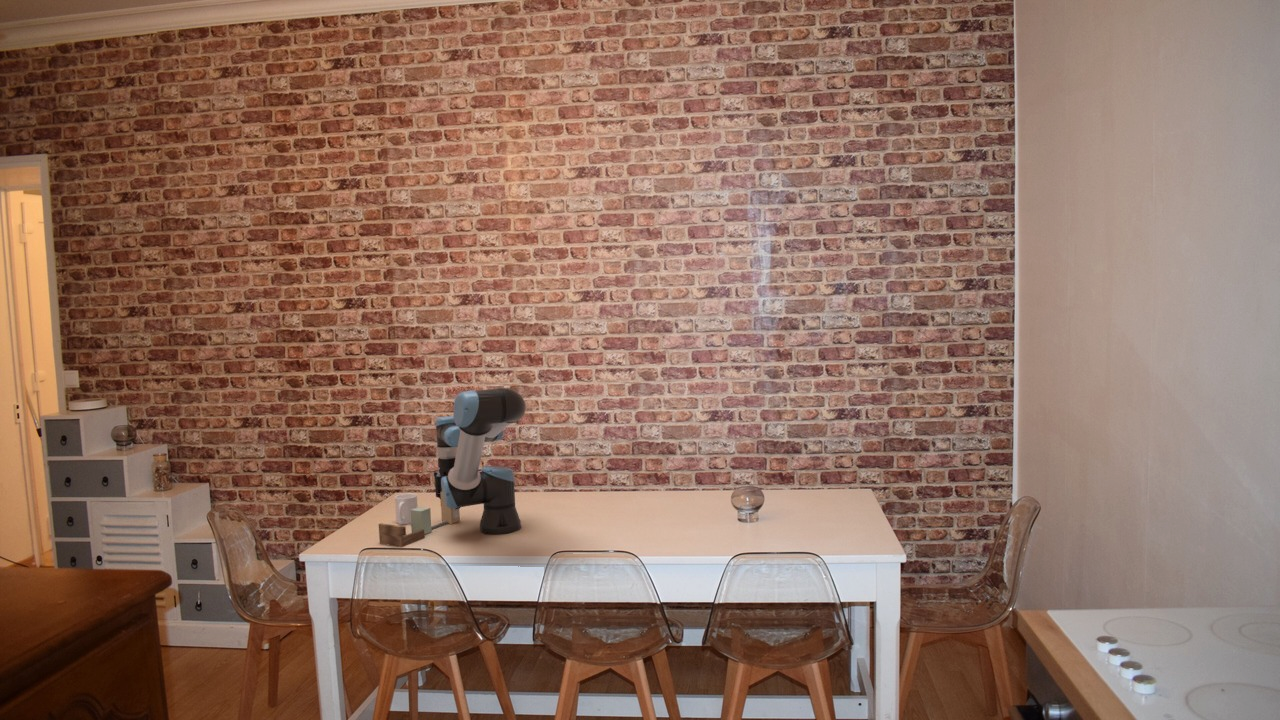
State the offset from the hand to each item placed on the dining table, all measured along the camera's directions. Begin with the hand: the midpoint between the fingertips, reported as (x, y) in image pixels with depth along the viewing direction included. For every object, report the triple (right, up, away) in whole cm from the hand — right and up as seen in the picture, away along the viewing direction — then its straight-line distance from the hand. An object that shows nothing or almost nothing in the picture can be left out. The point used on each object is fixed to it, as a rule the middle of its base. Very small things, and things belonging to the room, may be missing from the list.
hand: (451, 516), depth 319 cm
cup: (-18, -3, +1) cm, 18 cm away
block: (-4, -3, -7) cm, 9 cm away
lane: (-12, -5, -22) cm, 26 cm away
